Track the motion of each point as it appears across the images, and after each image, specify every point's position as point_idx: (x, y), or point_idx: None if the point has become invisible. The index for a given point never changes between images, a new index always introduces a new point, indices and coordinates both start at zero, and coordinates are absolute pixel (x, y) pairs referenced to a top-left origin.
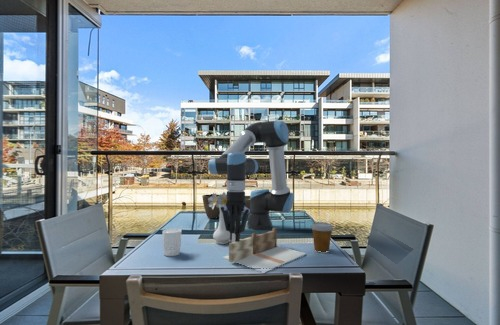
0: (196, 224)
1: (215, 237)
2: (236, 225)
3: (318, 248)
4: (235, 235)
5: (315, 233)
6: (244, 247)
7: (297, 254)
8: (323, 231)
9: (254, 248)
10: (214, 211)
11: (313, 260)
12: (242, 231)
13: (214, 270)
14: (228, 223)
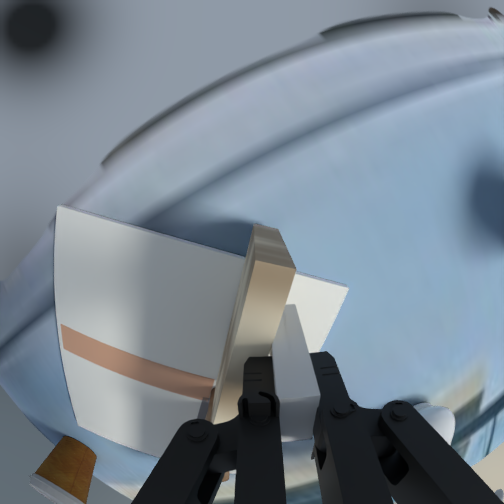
0: (485, 440)
1: (443, 410)
2: (262, 494)
3: (70, 446)
4: (275, 392)
5: (61, 479)
6: (223, 365)
7: (86, 416)
8: (38, 474)
9: (210, 408)
10: None
11: (40, 387)
12: (184, 438)
13: (295, 101)
14: (409, 480)
